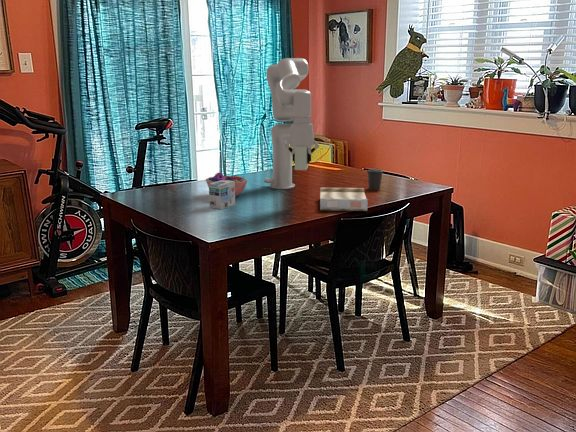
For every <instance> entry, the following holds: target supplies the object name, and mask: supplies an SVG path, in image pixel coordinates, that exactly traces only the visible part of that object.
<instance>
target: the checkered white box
mask: <svg viewBox="0 0 576 432" xmlns="http://www.w3.org/2000/svg"><path fill="white" fill-rule="evenodd" d="M319 190H320V191H319V200H320V201H319V209H320V211H339V212H341V211H342V212H345V211H346V212H347V211H348V212H349V211H350V212H353V211H356V212H368V202H369V201H368V200H369V199H368V198H367V196H366V194H365V188H364V187H320V189H319Z"/></svg>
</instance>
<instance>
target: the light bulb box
mask: <svg viewBox="0 0 576 432" xmlns="http://www.w3.org/2000/svg"><path fill="white" fill-rule="evenodd" d="M208 195H209V196H208V197H209V198H208V199H209V202H208V203H209V208H211V209H212V208H213V209H217V210H218V209H219V210H223V209H226V208H229V207H232V206H235V205H236V196H235V181H229V180H220V181H217V182H213V183H209V188H208Z"/></svg>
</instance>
